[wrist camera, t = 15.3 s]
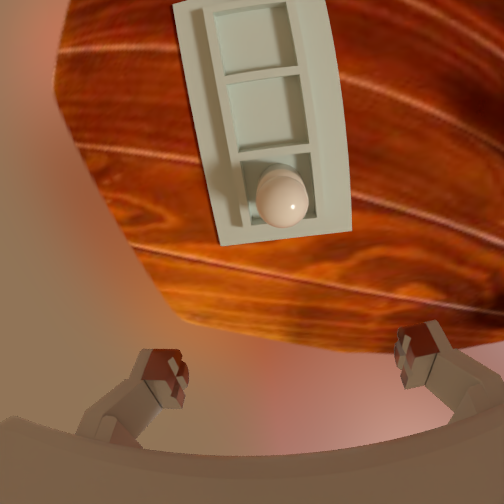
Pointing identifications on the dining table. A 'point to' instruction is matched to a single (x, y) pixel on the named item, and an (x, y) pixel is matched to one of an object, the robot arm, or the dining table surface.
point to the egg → (281, 196)
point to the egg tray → (266, 110)
